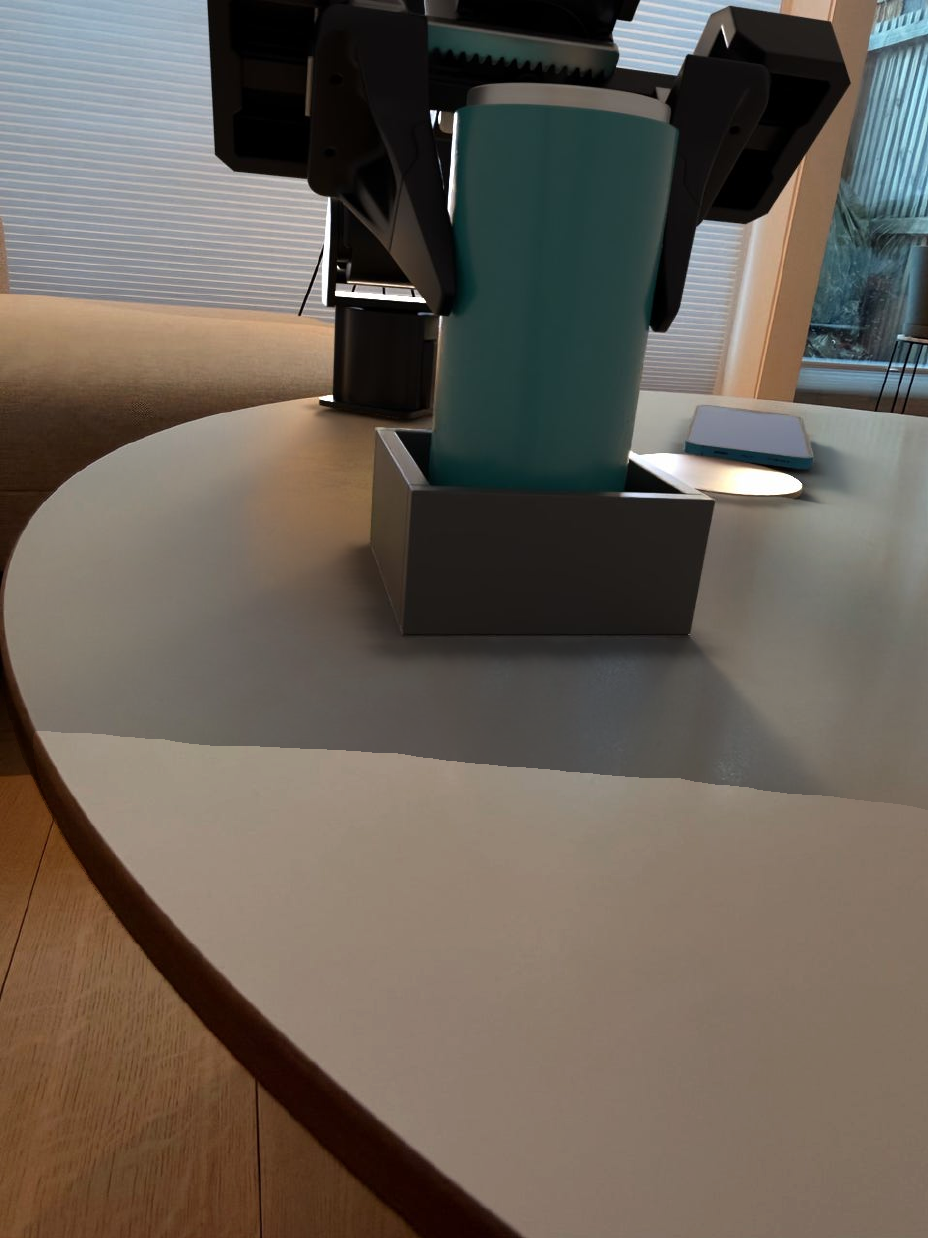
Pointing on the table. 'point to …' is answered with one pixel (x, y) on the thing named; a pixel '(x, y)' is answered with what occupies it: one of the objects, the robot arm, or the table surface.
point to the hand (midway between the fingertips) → (558, 314)
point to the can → (549, 285)
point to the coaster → (727, 475)
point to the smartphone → (749, 437)
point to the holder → (534, 551)
